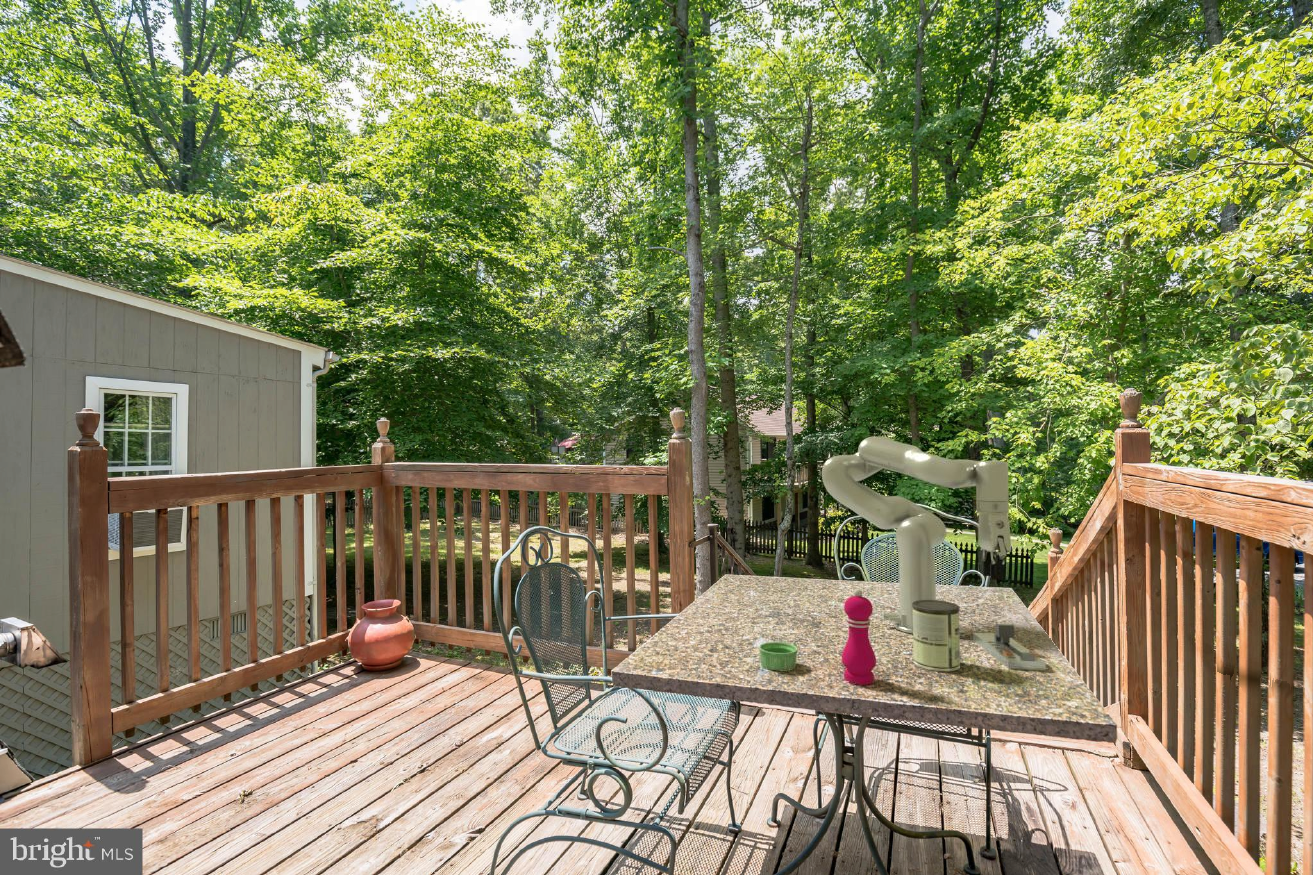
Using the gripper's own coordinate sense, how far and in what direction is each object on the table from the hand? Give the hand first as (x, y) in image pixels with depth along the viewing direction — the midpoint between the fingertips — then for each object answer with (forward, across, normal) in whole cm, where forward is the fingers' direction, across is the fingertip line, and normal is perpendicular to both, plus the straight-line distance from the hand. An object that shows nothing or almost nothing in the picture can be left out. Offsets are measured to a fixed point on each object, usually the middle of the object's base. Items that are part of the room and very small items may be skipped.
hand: (993, 576), depth 170 cm
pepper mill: (+18, -32, +40) cm, 54 cm away
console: (+17, -9, 0) cm, 20 cm away
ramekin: (+18, -24, +57) cm, 64 cm away
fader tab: (+15, -7, 0) cm, 17 cm away
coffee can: (+18, -19, +20) cm, 33 cm away
